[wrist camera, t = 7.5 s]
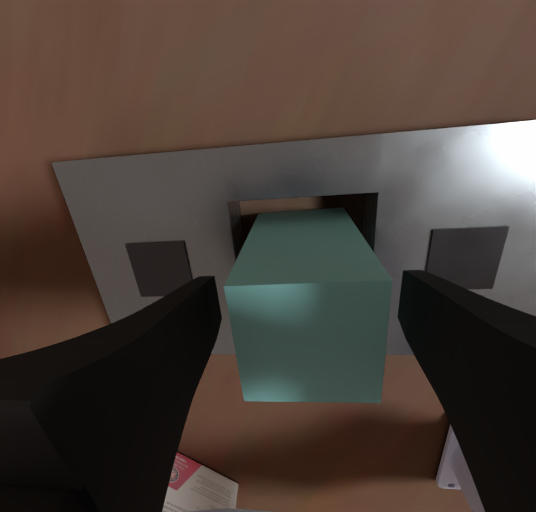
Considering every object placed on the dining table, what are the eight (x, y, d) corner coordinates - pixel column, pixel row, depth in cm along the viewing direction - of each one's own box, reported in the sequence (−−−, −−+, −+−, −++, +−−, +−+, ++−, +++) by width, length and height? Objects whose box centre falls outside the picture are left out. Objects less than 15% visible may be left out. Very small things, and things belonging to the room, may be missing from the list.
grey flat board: (550, 118, 12) (613, 113, 10) (491, 324, 16) (524, 356, 14) (89, 158, 15) (49, 162, 12) (143, 327, 19) (121, 354, 16)
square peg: (343, 207, 14) (392, 279, 7) (342, 282, 16) (381, 403, 9) (258, 213, 15) (223, 286, 8) (266, 285, 17) (244, 401, 9)
